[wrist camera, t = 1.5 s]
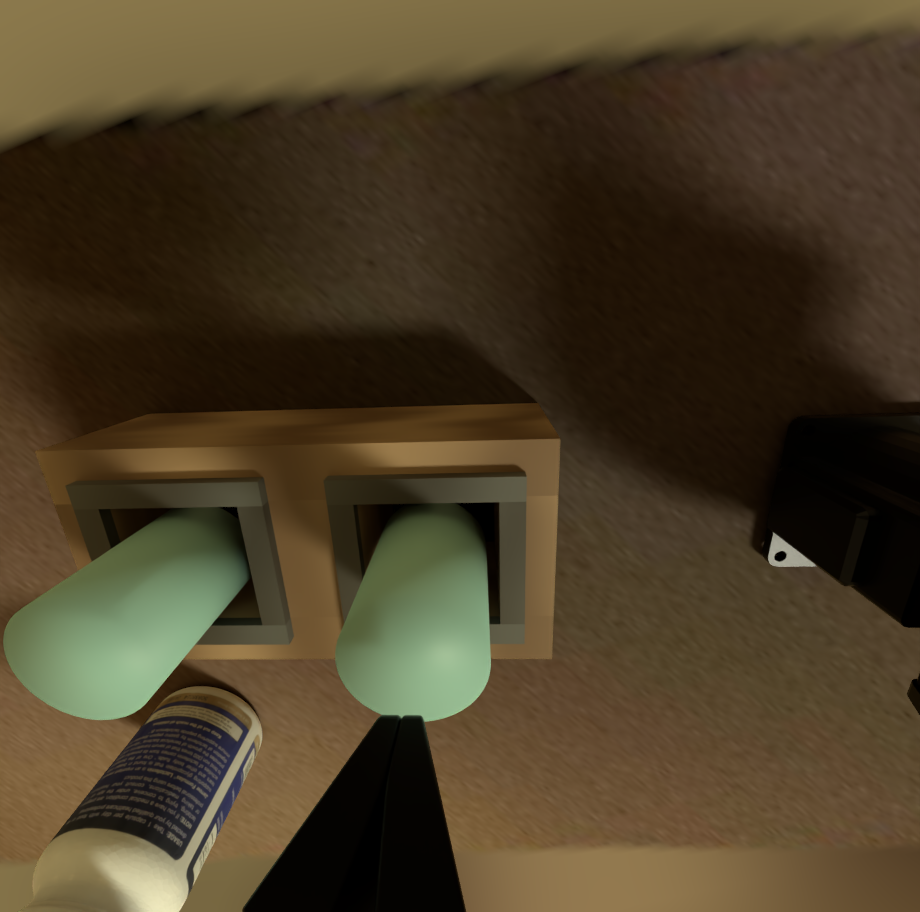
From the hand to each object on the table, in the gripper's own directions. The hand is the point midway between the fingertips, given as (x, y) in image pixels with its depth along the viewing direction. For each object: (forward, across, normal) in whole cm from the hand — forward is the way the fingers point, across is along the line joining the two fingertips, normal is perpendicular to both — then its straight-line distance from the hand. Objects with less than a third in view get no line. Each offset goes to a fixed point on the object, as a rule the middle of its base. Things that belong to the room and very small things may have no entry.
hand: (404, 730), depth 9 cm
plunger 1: (+7, +8, 0) cm, 11 cm away
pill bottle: (+11, +13, +13) cm, 22 cm away
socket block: (+11, +4, 0) cm, 12 cm away
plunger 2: (+7, 0, 0) cm, 7 cm away
